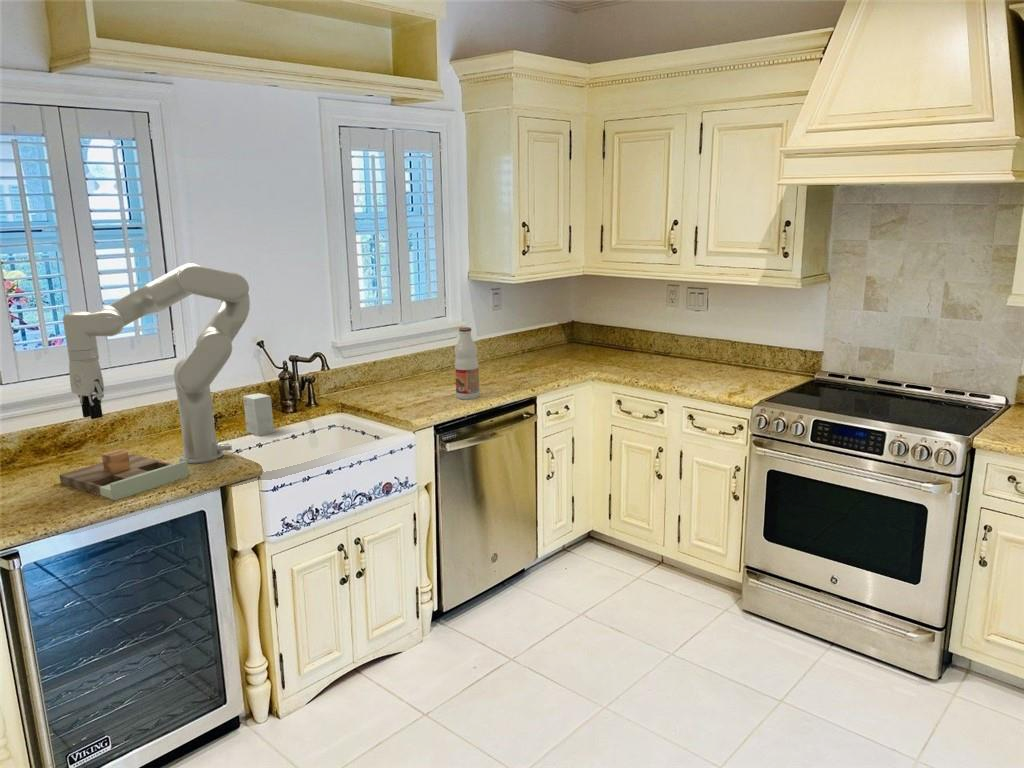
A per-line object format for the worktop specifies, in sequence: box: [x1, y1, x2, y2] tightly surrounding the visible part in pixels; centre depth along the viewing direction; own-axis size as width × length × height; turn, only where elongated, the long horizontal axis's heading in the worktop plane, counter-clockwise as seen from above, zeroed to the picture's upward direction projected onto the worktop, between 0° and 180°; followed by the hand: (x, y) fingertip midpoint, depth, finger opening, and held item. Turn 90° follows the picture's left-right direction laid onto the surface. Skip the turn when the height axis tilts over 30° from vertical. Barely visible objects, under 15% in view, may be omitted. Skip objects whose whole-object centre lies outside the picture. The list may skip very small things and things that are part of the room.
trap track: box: [59, 453, 172, 496], centre depth 222 cm, size 21×22×2 cm
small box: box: [242, 392, 275, 437], centre depth 265 cm, size 8×6×13 cm
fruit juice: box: [454, 326, 480, 400], centre depth 306 cm, size 9×9×28 cm
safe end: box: [100, 461, 190, 501], centre depth 214 cm, size 7×22×4 cm, turn 147°
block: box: [101, 449, 130, 473], centre depth 221 cm, size 5×5×5 cm
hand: (92, 416), depth 224 cm, fingers open, 3 cm apart
